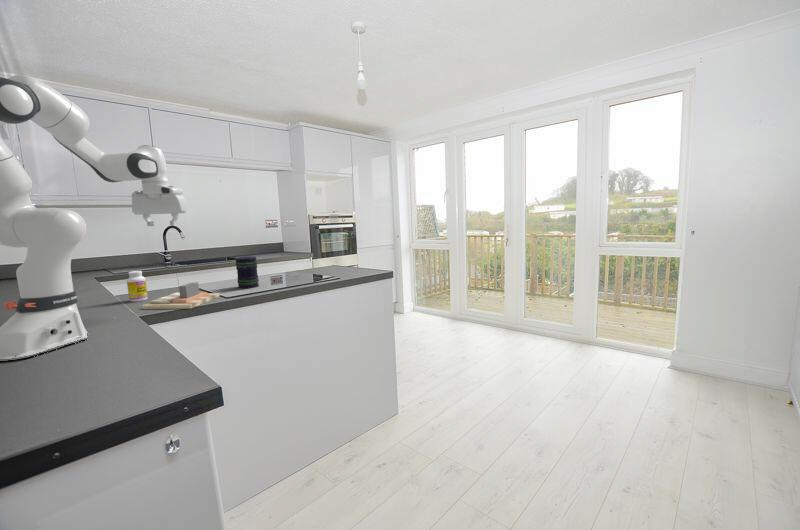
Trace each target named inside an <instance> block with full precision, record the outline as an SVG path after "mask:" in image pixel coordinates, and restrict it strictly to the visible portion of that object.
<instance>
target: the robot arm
mask: <svg viewBox="0 0 800 530" xmlns="http://www.w3.org/2000/svg"><path fill="white" fill-rule="evenodd" d="M29 120H30V121H31V122H33V123H34V124H36V125H37V126H38V127H41V128H42V129H43V130H45V131H47V132H48V133H50V135H52V136H53V138H54V139H55V140H56V141H57V142H58V143H59V144H60V145H61V146H62V147H64V148H65V149H66V150H67V151H69V152H71V153H72V154H73V155H75V156H76V157H77V158H78V159H80V160H82V161H83V162H84V163H85V164H87V165H88V166H89V167H90V169H92V170H93V171H94V172H95V174H96V175H97V176H98V177H100V178H101V179H102V180H103V181H106V182H107V183H108V182H109V183H119V182H128V181H131V182H132V181H139V180H141V188H142V190H134V191H133V192H132V194H131V210H132V213H133V214H134V215H136V216H137V215H139V216H140V215H142V218H143V219H144V221H145V222H146V225H147V227H154V226H155V224H154V223H155V222H154V221H152V220H151V219H150V218H151V215H169V214H170V217H172V218H171V220H170V221H169V225H170V226H177V225H178V224H177V221H178V219H179V214H186V213H187V212H188V205H187V201H186V198H185V196H184V190H183V189H182V188H180V187H177V186H174V185H170V181H169V179H168V165H167V161H166V157H165V155H164V151H163V150H162V149H161V148H159V147H157V146H154V145H146V144H142V145H139V146H138V147H137V148H136V149H134V150H132V151H128V152H122V153H121V152H118V153H111V152H104V151H102V150H100V149H99V148H98V147H97V146H95V145H94V144H93V143H91V142H90V141H89V140H88V139H87V138H86V136H87V134H88V132H89V130H90V127H91V126H90V124H91V123H90V119H89V116H88V115H87V114H86V112H85V111H84V110H83V109H81V108H80V107H79V105H77V104H76V103H74V102H73V101H72V100H70V99H69V98H68V97H66V96H64V94H62V93H61V92H59V91H57V90H56V89H55V88H53V87H51V86H49V85H48V84H47V83H45V82H43V81H41V80H39V79H37V78H36V77H34V76H31V75H28V74H22V73H20V74H15V75H11V76H10V77H8V78H6V77H2V76H0V126H5V125H6V126H7V125H11V124H12V125H16V124H22V123H25V122H28V121H29ZM33 185H34V184H33V180H32V178H31V177H30V175H29V174H28V172H27V171H26V169H24V167H23V166H22V165H21V163H20V161H19V160H18V158H17V157H16V155H15V154H14V153H13V152H12V150H11V149H10V147H9V146H8V145H7V144H6V143H5V141H4V138H2V134H1V133H0V245H1V246H6V247H12V248H27V250H26V251H27V252H26V256H25V258H24V261H23V263H22V264H20V265H19V266H18V267H17V268H16V271H15V274H16V280H17V284H18V285H17V286H18V292H19V295H20V297H19V298H18V300H17V302H16V301H6V302H4V304H3V306H2V307H3V308H4V309H5V310H15V313H14V314H13V315H12V316H10V318H8V320H6V321H5V322H4V323H3V324H2V325H1V326H0V359H12V358H19V357H24V356H29V355H33V354H36V353H39V352H43V351H46V350H48V349H51V348H55V347H57V346H61V345H64V344H67V343H70V342H74V341H77V340H80V339H84V338H87V337H88V336H87V333H88V334H89V332H88V331H87V329H86V328H85V325H84V322H83V320H82V317H81V314H80V312H79V309H78V305H77V304H78V296H77V292H76V290H74V284H73V278H72V277H73V276H72V269H71V266H72V265H71V264H72V259H73V258H72V257H73V255H74V251H75V250H76V249H75V248H76V247H77V245H78V244H79V243H80V242H81V241H82V240H84V238H85V236H86V235H87V231H88V230H87V229H88V227H87V222H86V220H85V219H84V218H83V217H82V216H81V215H80V214H79V213H77V212H76V211H73V210H69V209H64V208H59V207H38V208H37V207H36V206H35V205H34V204H33V202H32V200H31V197H30V191H31V190H32V189H33V187H34V186H33ZM15 356H16V357H15Z"/></svg>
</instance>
